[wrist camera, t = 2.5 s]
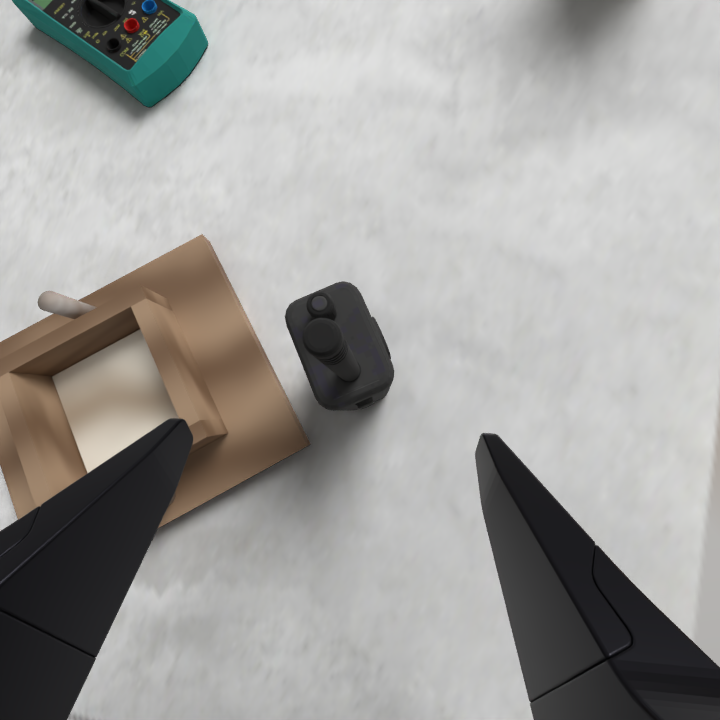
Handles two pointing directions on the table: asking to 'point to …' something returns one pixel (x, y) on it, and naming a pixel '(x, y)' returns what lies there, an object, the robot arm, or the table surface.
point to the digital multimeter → (126, 40)
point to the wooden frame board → (142, 383)
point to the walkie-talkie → (340, 347)
